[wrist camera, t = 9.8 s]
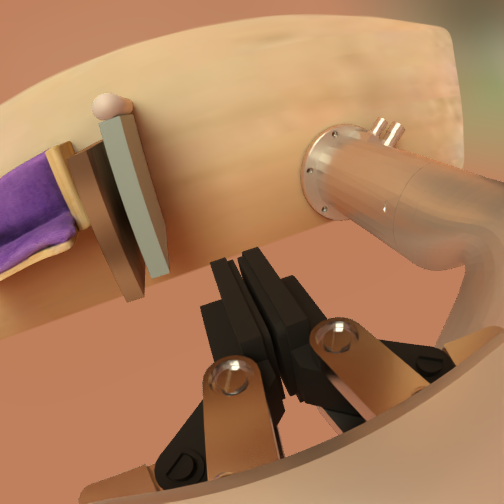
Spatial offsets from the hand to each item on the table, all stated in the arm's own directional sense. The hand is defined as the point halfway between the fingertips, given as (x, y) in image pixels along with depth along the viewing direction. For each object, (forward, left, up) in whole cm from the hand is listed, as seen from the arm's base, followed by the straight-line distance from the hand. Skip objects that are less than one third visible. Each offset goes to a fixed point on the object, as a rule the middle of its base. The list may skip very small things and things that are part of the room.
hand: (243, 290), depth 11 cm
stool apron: (+6, -5, -25) cm, 26 cm away
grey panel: (+2, -4, -25) cm, 25 cm away
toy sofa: (+14, -16, -26) cm, 33 cm away
